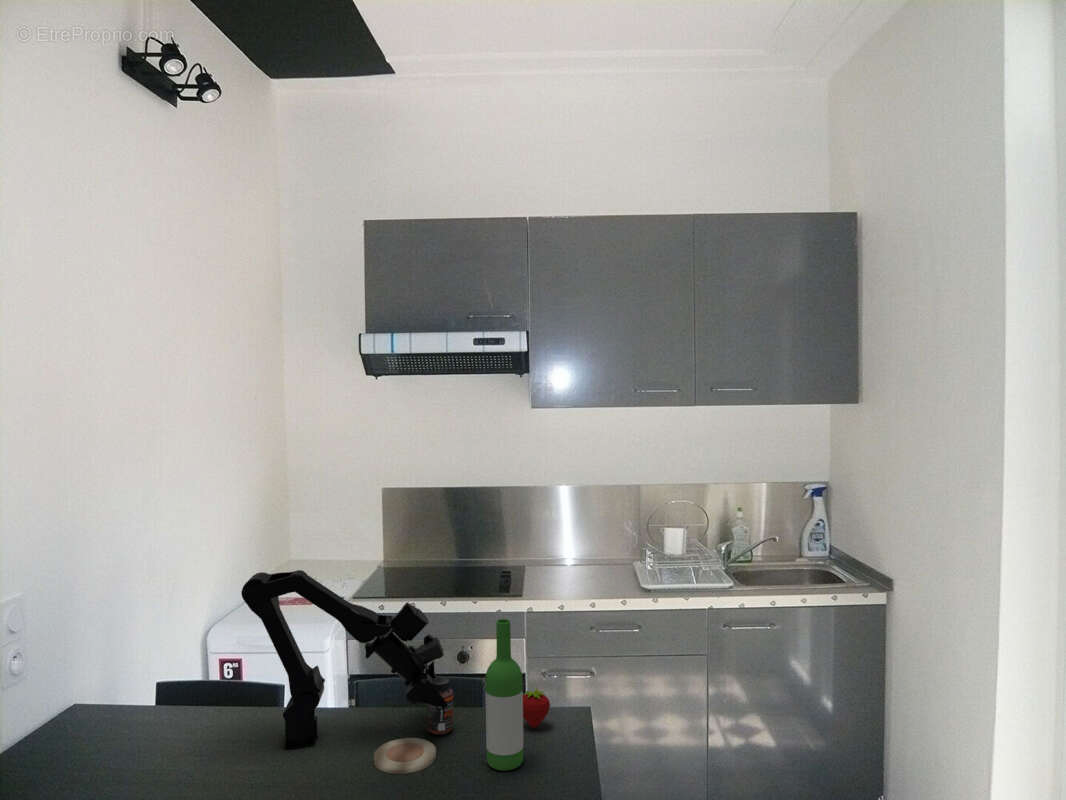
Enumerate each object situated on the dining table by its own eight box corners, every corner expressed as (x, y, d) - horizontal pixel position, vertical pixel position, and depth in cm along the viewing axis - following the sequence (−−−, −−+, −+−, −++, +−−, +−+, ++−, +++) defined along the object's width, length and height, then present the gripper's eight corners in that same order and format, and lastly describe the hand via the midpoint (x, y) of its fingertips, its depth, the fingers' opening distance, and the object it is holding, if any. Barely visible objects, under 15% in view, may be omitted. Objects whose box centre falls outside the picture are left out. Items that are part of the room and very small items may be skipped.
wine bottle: (489, 774, 150) (487, 627, 149) (484, 756, 157) (482, 616, 157) (526, 770, 151) (525, 625, 151) (519, 752, 159) (518, 613, 158)
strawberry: (519, 721, 174) (518, 679, 173) (551, 722, 173) (550, 680, 173) (516, 733, 168) (515, 689, 168) (549, 734, 167) (549, 690, 167)
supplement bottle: (448, 736, 165) (448, 686, 165) (423, 734, 166) (423, 684, 166) (456, 725, 171) (456, 676, 171) (432, 722, 172) (432, 674, 172)
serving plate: (375, 777, 149) (375, 771, 149) (372, 747, 162) (372, 741, 162) (439, 768, 152) (439, 762, 152) (432, 739, 165) (431, 734, 165)
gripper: (422, 642, 159) (473, 691, 160) (423, 616, 177) (469, 659, 179) (384, 681, 158) (436, 729, 159) (389, 650, 176) (436, 694, 178)
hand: (446, 700), depth 169 cm, fingers closed on supplement bottle, 6 cm apart
